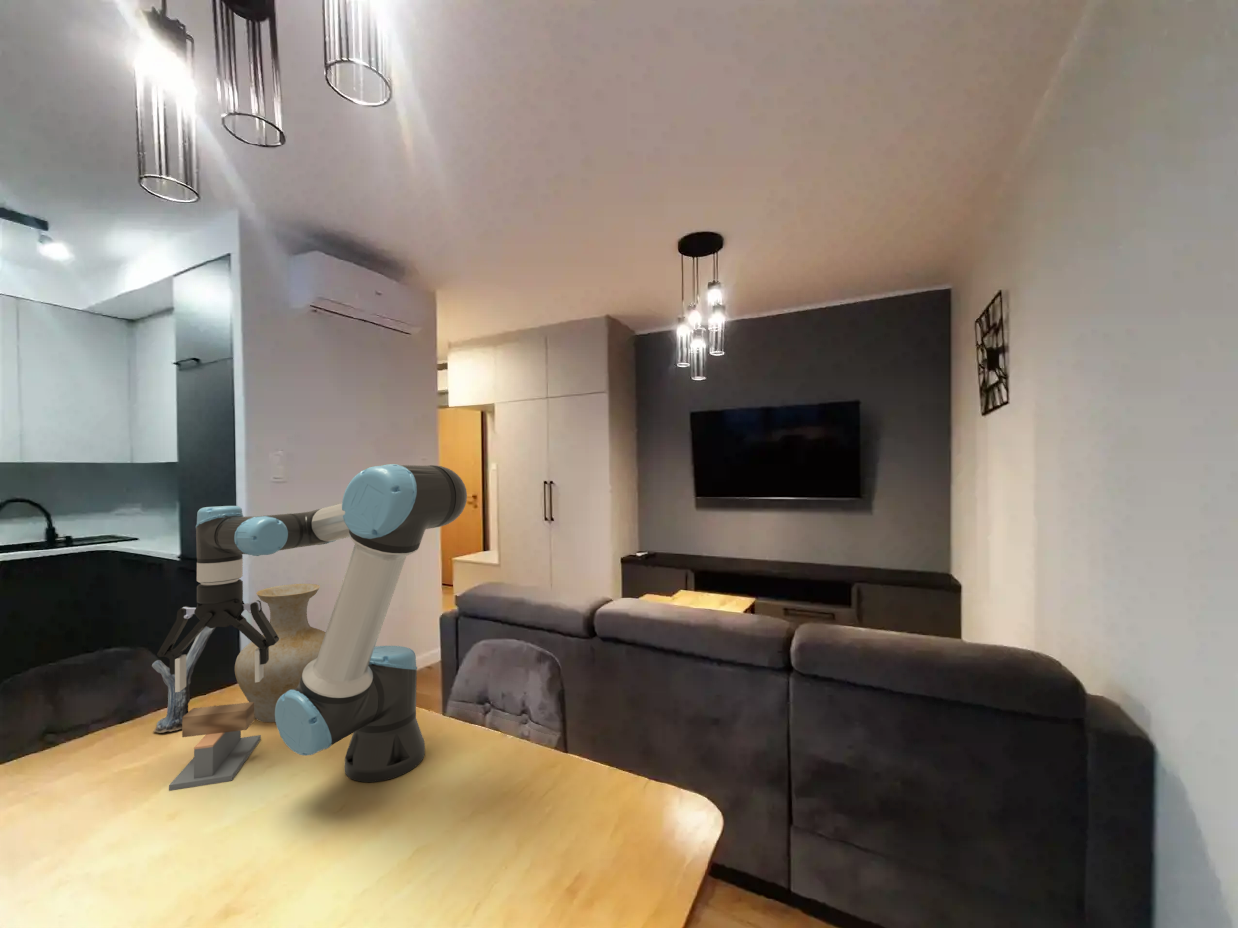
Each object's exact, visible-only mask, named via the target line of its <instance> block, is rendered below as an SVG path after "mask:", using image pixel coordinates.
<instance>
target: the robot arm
mask: <svg viewBox="0 0 1238 928" xmlns="http://www.w3.org/2000/svg"><path fill="white" fill-rule="evenodd" d="M467 492H468V491H467V488H466V485H465V483H464V481H463V479H462V478H461V477H460V475H459V474H458V473H456V472H455V471H453V469H450V468H448V467H445V466H442V465H432V464H431V465H414V464H413V465H409V464H405V465H404V464H403V465H401V464H396V463H395V464H394V463H391V464H384V465H374V466H370V467H367V468H366V469H364V470H363V469H362V470H361V471H360V472H358V473H357V474H356V475H355V476H353V477H352V479H351V480H350V482H349V483H348V485H347V486H346V488H345V491H344V493H343V496H342V501H341V503H338V504H335V505H334V504H333V505H330V506H325V507H323V508H318V509H315V510H310V511H304V512H296V513H282V514H270V515H268V514H267V515H257V516H256V515H253V516H244V515H243V509H242V508H241V506H238V505H223V506H221V505H220V506H206V507H201V508H199V510H198V511H197V516H196V525H195V531H196V532H195V533H196V534H195V537H196V582H198V583H199V584H198V585H197V586H196V607H190V606H189V605H185V606H183V607H181V608H180V609H178V610H177V613H176V620H175V621H174V623H173V625H172V627H171V628H170V630H169V632H168V634H167V636H165V637H166V638H165V639H164V641H163V642H162V645H161V646H160V648H159V649H158V651H157V653H156V656H157V657H158V658H162V657H163V658H166V659H168V660H169V668H170V674H171V675H173V674H175V692H180V691H181V690H182V689H184V688H185V687H186V656H187V654H183V652H184V651H185V650H186V649H187V647H188V646H190V644H191V643H192V642H194V641H195V639H196V637H197V636H198V635H199V633H200V632H201V631H202V630H203V629H204V628H205V627H206V626H207V627H209V628H215V627H216V628H219V627H220V628H227V627H229V626H232V627H234V628H235V629H237V630H238V631H240V632H241V634H243V635H244V636H245V637H246V638H247V639H248V640H249V641H250V642H253V643H254V644H255V645H256V646H257V647H258V649H256V650H255V682H260V681H261V679H262V678H263V677H264V664H266V663H267V662H268V660H269V646H272V645H274V644H275V643H277V642H278V641H279V637H278V635H277V634H276V632H275V631H274V629H273V627H272V626H271V624H270V620H269V619H268V618H267V616H266V614H265V613H264V611H263V607H262V601H261V600H260V599H257V600H255V601H253V602H248V603H245V602H244V593H243V592H244V587H243V586H244V584H243V583H244V582H243V580H242V579H241V578H242V577H243V576H244V575H243V568H244V567H243V563H244V562H243V560H244V559H243V555H249V556H253V557H255V556H256V557H259V556H268V555H270V556H271V555H274V554H275V553H277V552H279V551H285V550H291V549H296V548H304V547H311V546H321V545H327V544H329V543H333V542H336V541H339V540H341V539H342V540H343V539H348V538H349V539H351V541H352V542H353V543H354V546H353V549H352V552H351V555H350V558H349V561H348V565H347V567H346V570H345V573H344V576H343V580H342V583H341V585H340V588H339V591H338V594H337V597H336V600H335V602H334V606H333V609H332V613H331V615H330V619H329V621H328V623H327V624H328V625H327V628H326V630H325V632H326V633H325V636H324V639H323V642H322V645H321V648H320V651H319V654H318V657H317V658H316V659H314V660H312V661H311V662H310V663H308V664H307V665H306V667H305V668H304V670H303V673H302V676H301V679H300V682H299V685H298V687H297V688H296V689H294V690H289V691H287V692H286V693H285V694H283V695H282V696H281V697H280V698H279V699H278V701H277V703H276V707H275V721H276V722H275V725H276V728H277V731H278V734H279V735H280V738H281V739H282V741H283V743H284V744H285V745H286V747H288V748H289V749H290V750H291V751H292V752H294V753H295V754H298V755H300V756H312V755H315V754H317V753H319V752H320V751H323V750H327V749H329V748H331V746H333V745H334V744H336V743H338V742H340V741H341V740H343V739H345V738H346V737H348V736H350V735H352V736H351V739H350V741H349V745H348V747H347V750H346V753H345V756H344V773H345V775H346V776H347V777H348V778H350V779H351V780H353V781H356V782H360V783H375V782H376V783H377V782H383V781H387V780H391V779H394V778H397V777H400V776H402V775H405V774H407V773H408V772H410V771H411V770H414V768H416V767H417V766H419V764H420V763H421V762H422V761H423V759H424V758H425V754H426V753H425V752H426V751H425V750H426V749H425V746H426V745H425V740H424V739H425V738H424V737H423V734H422V731H421V728H420V725H419V723H418V719H417V678H418V677H417V675H418V673H417V672H418V671H417V670H418V666H417V660H416V659H417V656H416V653H415V651H414V650H413V649H412V648H409V647H407V646H403V645H402V646H401V645H377V642H378V639H379V635H380V633H381V630H382V627H383V624H384V622H385V619H386V616H387V612H388V610H389V607H390V603H391V601H392V599H393V596H394V593H395V590H396V587H397V584H398V581H399V579H400V575H401V573H402V571H403V567H404V564H405V562H406V558H407V556H409V555H411V554H414V553H416V552H417V551H418V550H419V548H420V545H421V543H422V540H423V537H424V534H425V532H426V530H429V529H434V528H441V527H443V526H447V525H449V524H451V523H452V522H454V521H456V519H458V518H459V517H460V516H461V514H462V513H463V512H464V509H465V507H466V504H467V501H468V500H467V499H468V493H467ZM245 610H246V611H247V613H248V614H251V617H252V618H253V620H254V622H255V624H256V625H257V628H259V629H260V631H261V633H260V631H258V629H256V627H254V626H253V625H252V624H250V622H249V621H248V619H247V618H246V617H245V616H244V615H242V614H243V613H244V611H245ZM194 615H195V616H196V618H197V619H199V621H198V622H197V623H196V624H195V625H194V626H193V628H192V629H191V630H190V631H189V632H188V633H187V635H186V636H185V637H184V638H183V639H182V640H181V641H180V642H179V643H178V644H177V645H176V646H175V644H176V642H177V640H178V638H179V637H180V635H181V634H182V631H184V628H185V626H186V624H187V623H188V620H189V619H190V618H192V617H193V616H194ZM263 635H264V636H265V637H264V636H263ZM174 646H175V647H174ZM173 647H174V648H173Z"/></svg>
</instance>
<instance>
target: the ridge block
mask: <svg viewBox="0 0 1238 928" xmlns="http://www.w3.org/2000/svg"><path fill="white" fill-rule="evenodd" d="M241 731H242V730H241ZM241 731H233V732H224V733H216V734H207V735H203V737H202V738H201V740H199V741H198V742H197V743H196V745H195V746H194V747H193V749H194V750H193V755H194V756H193V757H192V759H191V760H190V761H189V762H188V763H187V764H186V766H185V767H184V768H183V769H182V770H181V771H180V772H179V773H178V775H176V777H174V779H173V780H172V781H170V783H169V784H168V791H174V790H182V789H187V788H194V787H199V786H207V785H214V784H220V783H226V782H232V781H233V779H234V778H235V777H236V775H237V774H238V772H240V770H241V768H242V767H243V766H244V764H245V762H246V761H247V760H248V758H249V757H250V755H252V753H253V751H254V750H255V749H256V747H257V745H258V744H259V743H260V741H261V739H262V735H261V734H258V735H252V736H243V737H242V735H241Z"/></svg>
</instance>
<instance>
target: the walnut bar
mask: <svg viewBox="0 0 1238 928" xmlns="http://www.w3.org/2000/svg"><path fill="white" fill-rule="evenodd" d="M254 722H255V717H254V702H249V701H248V702H240V703H231V704H220V705H211V706H202V707H194V708H191V710H188V713H187V714H186V715H184V716H183V717H182V729H181V731H182V733H181V735H182V736H181V737H182V738H188V737H195V736H196V737H197V736H198V737H199V736H205V735H207V734H216V733H224V732H233V731H247V729H249V727H251V725H252V724H253V723H254Z"/></svg>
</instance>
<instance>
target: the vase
mask: <svg viewBox="0 0 1238 928" xmlns="http://www.w3.org/2000/svg"><path fill="white" fill-rule="evenodd" d="M320 588H321V585H320V584H319V585H318V584H314V583H293V584H284V585H283V584H282V585H275V586H271V587H267V588H264V589H260V590H258V591H256V596H257V597H258V598H259V601H261V602H264V603H265V604H267V606H268V608H269V617H270V618H269V622H270V624H271V626H272V627H273V629H274V631H275V632H276V634H277V635H278V637H279V641H278V642H277V643H275V644H274V645H272V646H269V660H268V662H267V663H266V664H264V677H263V678H262V679H261V681H260V682H255V650H256V649H258V647H257V646H256V645H255V644H254V643H253V642H252V641H250V642H249V643H248V644H247V645H246V646H245V647H243V649H241V650H240V652H239V653H238V655H237V657H236V659H235V664H234V674H235V678H236V681H237V682H236V683H237V684H238V686H239V688H240V690H241V692H242V694H243V695H244V696H245V698H246V700H247V701H248V702H254V720H257V721H259V722H263V723H276V721H275V707H276V703H277V701H278V699H279V698H280V697H281V696H282V695H283V694H285V693H286V692H287V691H289V690H294V689H296V688H297V687H298V685H299V682H300V679H301V676H302V673H303V670H304V668H305V667H306V665H307V664H308V663H310V662H311V661H312V660H314V659H316V658H317V657H318V654H319V651H320V648H321V645H322V642H323V639H324V636H325V633H326V631H324V630H322V629H320V628H316V627H314V626H311V625H310V623H309V620H308V604H309V602H310V599H311V598H313V597H314V596H315V595H316V594H317V592H318V591H319V589H320ZM262 635H263V634H262ZM263 636H264V635H263ZM264 637H265V636H264Z"/></svg>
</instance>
